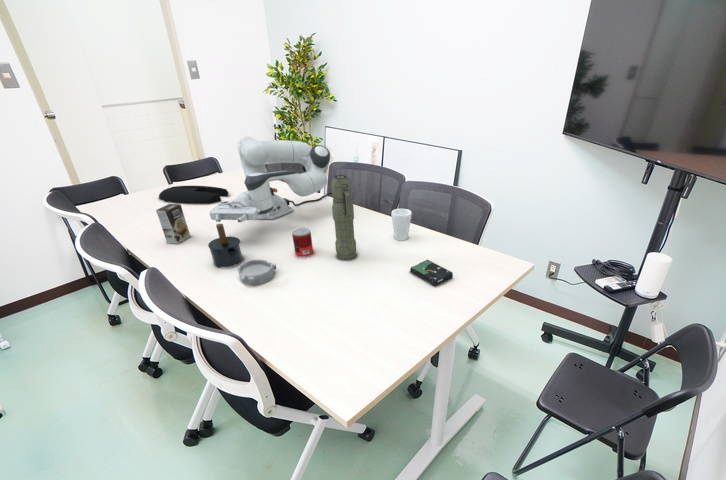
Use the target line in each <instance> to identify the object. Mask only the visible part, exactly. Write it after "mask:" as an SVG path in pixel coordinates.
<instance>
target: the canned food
mask: <svg viewBox="0 0 726 480" xmlns="http://www.w3.org/2000/svg"><path fill="white" fill-rule="evenodd" d="M291 236H292V242H293V247H294V253H295V255H296V256H297V257H301V258H306V257H309V256H311V255H313V253H314V248H313V247H314V246H313V240H312V232H311V229H310V228H309V227H298V228H295V229H293V230H292V232H291Z"/></svg>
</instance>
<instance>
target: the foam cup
mask: <svg viewBox="0 0 726 480" xmlns="http://www.w3.org/2000/svg"><path fill="white" fill-rule="evenodd" d="M390 212H391V213H390V216H391V221H392V228H393V229H392V230H393V236H394V239H395V240H397V241H406V240H408V238H409V232H410V225H411V220H412V216H413V215H412V214H413V212H412V210H410V209H408V208H394V209H393V210H392V211H390Z"/></svg>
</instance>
